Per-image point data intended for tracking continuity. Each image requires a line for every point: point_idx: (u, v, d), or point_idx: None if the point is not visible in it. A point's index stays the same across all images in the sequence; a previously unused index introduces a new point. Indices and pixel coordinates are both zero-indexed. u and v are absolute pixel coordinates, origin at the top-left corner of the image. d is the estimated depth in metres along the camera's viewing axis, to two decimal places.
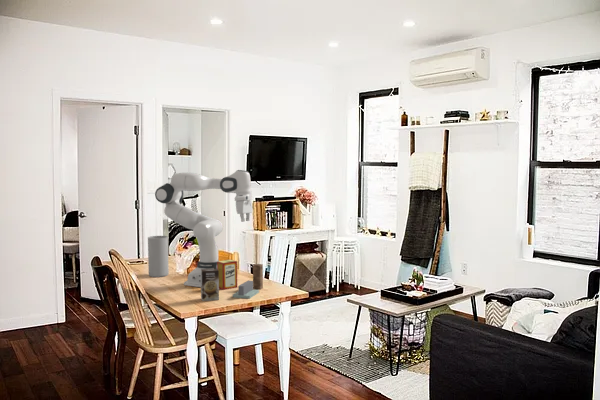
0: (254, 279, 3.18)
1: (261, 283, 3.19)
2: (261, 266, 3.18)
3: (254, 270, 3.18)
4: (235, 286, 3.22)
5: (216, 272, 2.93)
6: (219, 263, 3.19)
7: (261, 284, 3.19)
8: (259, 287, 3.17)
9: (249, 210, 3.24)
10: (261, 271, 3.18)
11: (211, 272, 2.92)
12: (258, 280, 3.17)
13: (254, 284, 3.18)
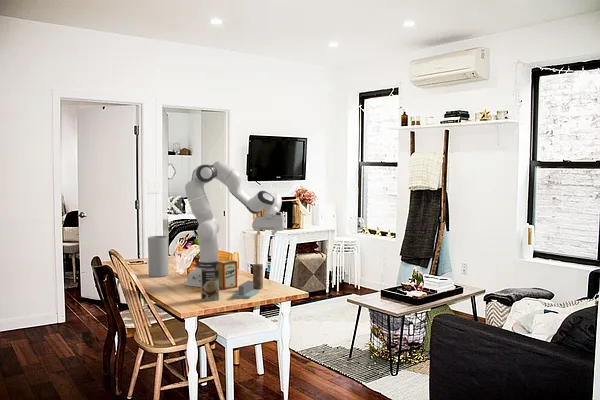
0: (254, 279, 3.18)
1: (261, 283, 3.19)
2: (261, 266, 3.18)
3: (254, 270, 3.18)
4: (235, 286, 3.22)
5: (216, 272, 2.93)
6: (219, 263, 3.19)
7: (261, 284, 3.19)
8: (259, 287, 3.17)
9: None
10: (261, 271, 3.18)
11: (211, 272, 2.92)
12: (258, 280, 3.17)
13: (254, 284, 3.18)
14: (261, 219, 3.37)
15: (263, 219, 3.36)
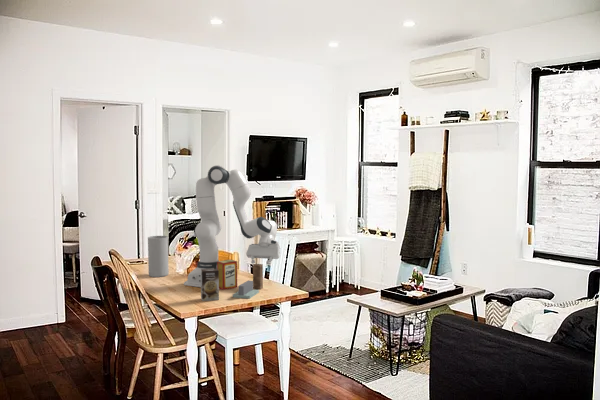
0: (254, 279, 3.18)
1: (261, 283, 3.19)
2: (261, 266, 3.18)
3: (254, 270, 3.18)
4: (235, 286, 3.22)
5: (216, 272, 2.93)
6: (219, 263, 3.19)
7: (261, 284, 3.19)
8: (259, 287, 3.17)
9: None
10: (261, 271, 3.18)
11: (211, 272, 2.92)
12: (258, 280, 3.17)
13: (254, 284, 3.18)
14: (256, 247, 3.29)
15: (258, 247, 3.28)
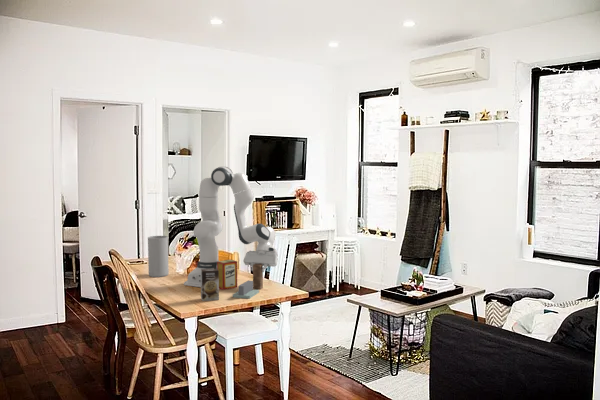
0: (254, 279, 3.18)
1: (261, 283, 3.19)
2: (261, 266, 3.18)
3: (254, 270, 3.18)
4: (235, 286, 3.22)
5: (216, 272, 2.93)
6: (219, 263, 3.19)
7: (261, 284, 3.19)
8: (259, 287, 3.17)
9: None
10: None
11: (211, 272, 2.92)
12: (258, 280, 3.17)
13: (254, 284, 3.18)
14: (253, 254, 3.25)
15: (255, 254, 3.25)
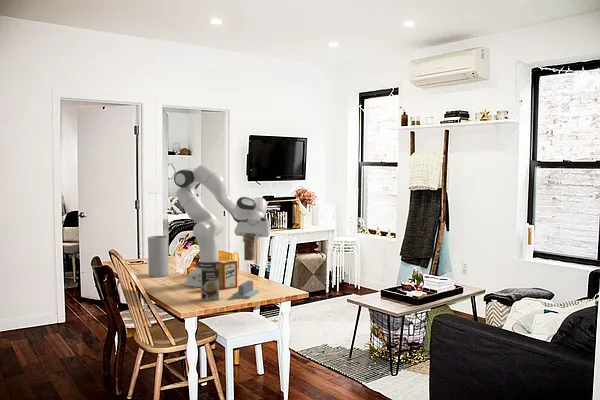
0: (245, 250, 3.06)
1: (253, 254, 3.07)
2: (253, 236, 3.06)
3: (245, 240, 3.06)
4: (235, 286, 3.22)
5: (216, 272, 2.93)
6: (219, 263, 3.19)
7: (253, 255, 3.07)
8: (251, 258, 3.06)
9: None
10: None
11: (211, 272, 2.92)
12: (250, 251, 3.05)
13: (245, 255, 3.06)
14: (244, 225, 3.13)
15: (247, 225, 3.13)
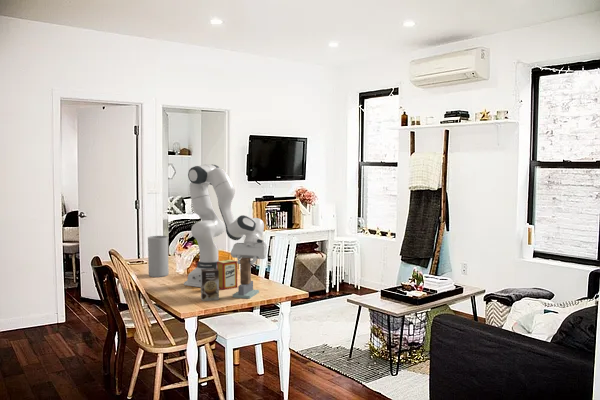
0: (241, 273, 3.02)
1: (249, 278, 3.03)
2: (249, 260, 3.03)
3: (241, 264, 3.02)
4: (235, 286, 3.22)
5: (216, 272, 2.93)
6: (219, 263, 3.19)
7: (249, 279, 3.04)
8: (247, 282, 3.02)
9: None
10: (249, 265, 3.03)
11: (211, 272, 2.92)
12: (246, 275, 3.02)
13: (241, 279, 3.03)
14: (241, 246, 3.09)
15: (243, 246, 3.09)
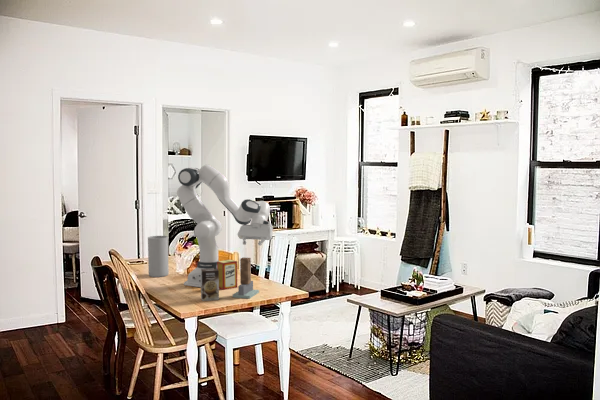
0: (241, 273, 3.02)
1: (249, 278, 3.03)
2: (249, 260, 3.03)
3: (241, 264, 3.02)
4: (235, 286, 3.22)
5: (216, 272, 2.93)
6: (219, 263, 3.19)
7: (249, 279, 3.04)
8: (247, 282, 3.02)
9: None
10: (249, 265, 3.03)
11: (211, 272, 2.92)
12: (246, 275, 3.02)
13: (241, 279, 3.03)
14: (247, 228, 3.18)
15: (250, 228, 3.18)
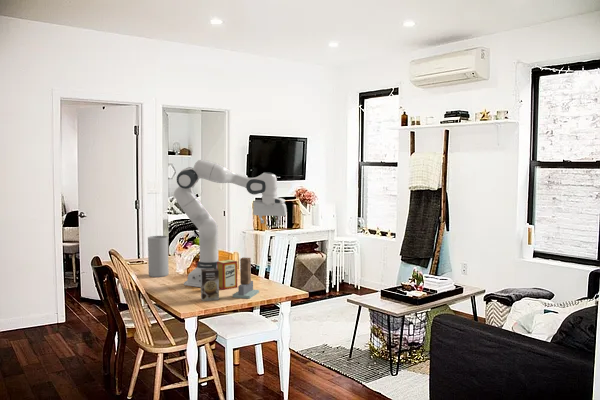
0: (241, 273, 3.02)
1: (249, 278, 3.03)
2: (249, 260, 3.03)
3: (241, 264, 3.02)
4: (235, 286, 3.22)
5: (216, 272, 2.93)
6: (219, 263, 3.19)
7: (249, 279, 3.04)
8: (247, 282, 3.02)
9: None
10: (249, 265, 3.03)
11: (211, 272, 2.92)
12: (246, 275, 3.02)
13: (241, 279, 3.03)
14: (261, 206, 3.24)
15: (263, 206, 3.24)
